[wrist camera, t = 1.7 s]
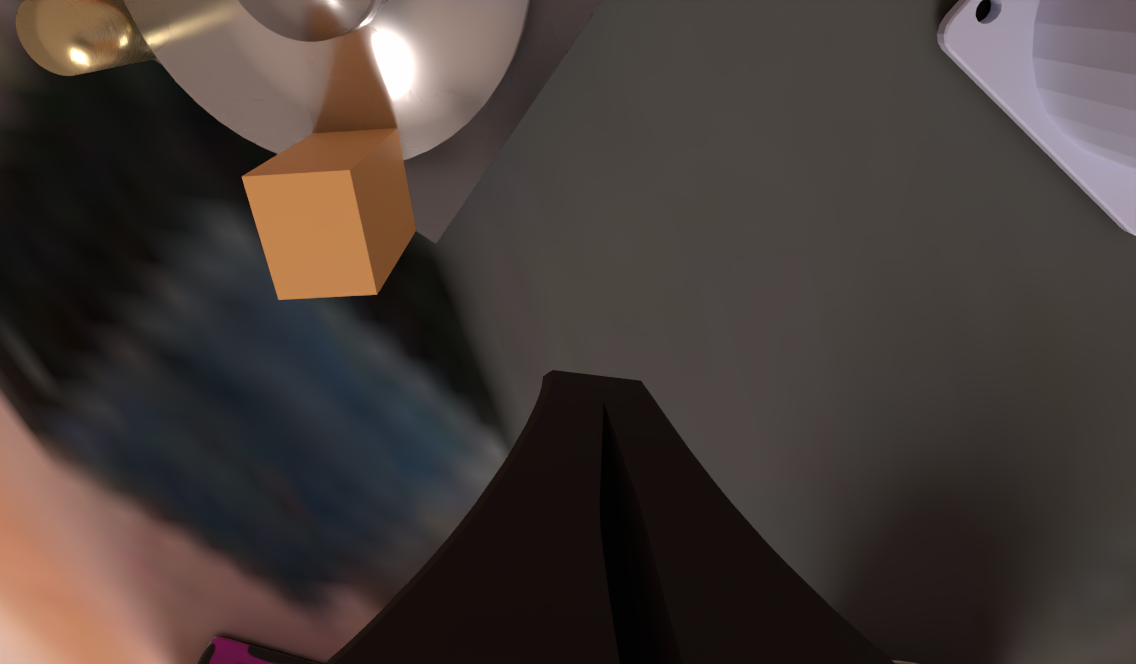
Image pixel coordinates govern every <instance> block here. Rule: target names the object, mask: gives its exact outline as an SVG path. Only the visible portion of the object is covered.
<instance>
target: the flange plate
mask: <svg viewBox="0 0 1136 664" xmlns="http://www.w3.org/2000/svg"><path fill="white" fill-rule="evenodd" d="M124 3H125V5H126V7H127V8H128V10H129V12H130V14H131V16H132V18H133V20H134V22H135V24H136V26H137V28H138V29H139V31H140V33H141V34H142V36H143V37H144V39H145V41H146V42H147V44H148V45H149V47H150V48H151V50H152V51H153V53H154V54H155V56H156V57H157V59H158V60H159V61H160V62H161V64H162V65H163V66H164V67H165V69H166V70H167V71H168V72H169V74H170V75H171V76H172V77H173V78H174V80H175V81H176V82H177V83H178V84H179V85H180V86H181V87H182V88H183V89H184V90H185V91H186V92H187V93H188V94H189V95H190V96H191V97H192V98H193V99H194V100H195V101H196V102H197V103H198V104H199V105H200V106H201V107H203V108H204V109H205V110H206V111H207V112H209V113H210V114H211V115H212V116H213V117H215V118H216V119H217V120H218V121H220V122H221V123H223V124H224V125H226V126H227V127H229V128H230V129H232V130H233V131H235V132H236V133H238V134H239V135H240V136H242V137H244V138H246V139H248V140H250V141H252V142H253V143H255V144H257V145H259V146H261V147H263V148H265V149H267V150H270V151H272V152H275V153H277V154H278V155H276V156H275V157H273V158H271V159H270V160H268V161H266V162H265V163H263V164H262V165H260V166H258V167H257V168H255V169H253V170H252V171H250V172H248V173H247V174H245V175H244V176H242V180H243V183H244V186H245V190H246V193H247V196H248V200H249V203H250V206H251V210H252V213H253V216H254V220H255V223H256V226H257V230H258V233H259V236H260V240H261V243H262V246H263V250H264V253H265V256H266V260H267V263H268V266H269V270H270V273H271V276H272V280H273V283H274V286H275V289H276V293H277V296H278V299H279V300H287V299H305V298H323V297H341V296H359V295H377V294H378V292H379V291H380V289H381V287H382V286H383V284H384V282H385V281H386V279H387V277H388V276H389V274H390V273H391V271H392V269H393V268H394V266H395V264H396V263H397V261H398V259H399V258H400V256H401V254H402V253H403V251H404V249H405V248H406V246H407V245H408V243H409V241H410V240H411V238H412V236H413V235H414V233H415V231H416V228H415V222H414V216H413V211H412V205H411V200H410V194H409V189H408V183H407V178H406V172H405V167H404V161H403V160H407V159H410V158H412V157H414V156H417V155H419V154H421V153H424V152H426V151H428V150H431V149H432V148H434V147H435V146H437V145H439V144H440V143H442V142H444V141H445V140H447V139H448V138H450V137H451V136H453V135H454V134H455V133H456V132H457V131H459V130H460V129H461V128H462V127H463V126H465V125H466V124H467V123H468V122H469V121H470V120H471V119H472V118H473V117H474V116H475V115H476V113H477V112H478V111H479V110H480V109H481V108H482V107H483V106H484V105H485V103H486V102H487V100H488V99H489V98H490V96H491V95H492V93H493V92H494V90H495V89H496V87H497V86H498V84H499V83H500V81H501V80H502V78H503V77H504V75H505V73H506V71H507V69H508V68H509V66H510V64H511V62H512V60H513V58H514V56H515V54H516V51H517V48H518V45H519V42H520V40H521V37H522V34H523V31H524V28H525V23H526V19H527V14H528V10H529V5H530V0H124Z"/></svg>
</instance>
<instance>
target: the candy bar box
mask: <svg viewBox="0 0 1136 664" xmlns="http://www.w3.org/2000/svg"><path fill="white" fill-rule="evenodd" d="M198 664H320V663H316V662H313V661H309V660H305V659H301V658H297V657H294V656H290V655H287V654H283V653H280V652H276V651H272V650H269V649H265V648H261V647H258V646H254V645H250V644H247V643H243V642H239V641H236V640H233V639H229V638H225V637H219V636H214V637H213V638H212V639H211V641H210V642H209V644H208V646H207V648H206V649H205V651H204V653H203V655H202V657H201V658H200V660H199V662H198Z"/></svg>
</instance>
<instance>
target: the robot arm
mask: <svg viewBox="0 0 1136 664" xmlns="http://www.w3.org/2000/svg"><path fill="white" fill-rule="evenodd" d="M981 1H982V0H959V1H958V2H957V3H956V4H955V5H954V6H953V7H952V8H951V10H950V11H949V12H948V13H947V14H946V15H945V17H944V18H943V20H942V21H941V23H940V25H939V28H938V32H937V39H938V44H939V45H940V47H941V49H942V50H943V51H944V52H945V53H946V54H947V55H948V56H949V57H950V58H951V59H952V60H953V61H954V62H955V63H956V64H957V65H958V66H959V67H960V68H961V69H962V70H963V71H964V72H965V73H966V74H967V75H968V76H969V77H970V78H971V79H972V80H973V81H974V82H975V83H976V84H977V85H978V86H979V87H980V88H981V89H982V90H983V91H984V92H985V93H986V94H987V95H988V96H989V97H990V98H991V99H992V100H993V101H994V102H995V103H996V104H997V105H998V106H999V107H1000V108H1001V109H1002V110H1003V111H1004V112H1005V113H1006V114H1007V115H1008V116H1009V117H1010V118H1011V119H1012V120H1013V121H1014V122H1015V123H1016V124H1017V125H1018V126H1019V127H1020V128H1021V129H1022V130H1023V131H1024V132H1025V133H1026V134H1027V135H1028V136H1029V137H1030V138H1031V139H1032V140H1033V141H1034V142H1035V143H1036V144H1037V145H1038V146H1039V147H1040V148H1041V149H1042V150H1043V151H1044V152H1045V153H1046V154H1047V155H1048V156H1049V157H1050V158H1051V159H1052V160H1053V161H1054V162H1055V163H1056V164H1057V165H1058V166H1059V167H1060V168H1061V169H1062V170H1063V171H1064V172H1065V173H1066V174H1067V175H1068V176H1069V177H1070V178H1071V179H1072V180H1073V181H1074V182H1075V183H1076V184H1077V185H1078V186H1079V187H1080V188H1081V189H1082V190H1083V191H1084V192H1085V193H1086V194H1087V195H1088V196H1089V197H1090V198H1091V199H1092V200H1093V201H1094V202H1095V203H1096V204H1097V205H1098V206H1099V207H1100V208H1101V209H1102V210H1103V211H1104V212H1105V213H1106V214H1107V215H1108V216H1109V217H1110V218H1111V219H1112V220H1113V221H1114V222H1115V223H1116V224H1117V225H1118V226H1119V227H1120V228H1121V229H1123V230H1125V231H1127V232H1129V233H1131V234H1133V235H1135V236H1136V0H990V2H991V10H990V12H989V14H988V15H987V17H986V18H985V19H983V20H982V21H980V22H978V20H977V18H976V16H975V15H976V8H977V7H978V5H979V3H980V2H981ZM325 664H896V663H894V662H893V661H892V660H891V659H890V658H889V657H887V656H886V655H885V654H884V653H883V652H881V651H880V650H879V649H878V648H877V647H876V646H874V645H873V644H872V643H871V642H870V641H868V640H867V639H866V638H865V637H864V636H863V635H862V634H860V633H859V632H858V631H857V630H856V629H855V628H854V627H853V626H852V625H851V624H849V623H848V622H847V621H846V620H845V619H844V618H843V617H842V616H841V615H839V614H838V613H837V612H836V611H835V610H834V609H833V608H832V607H831V606H830V605H829V604H828V603H827V602H826V601H825V600H824V599H823V598H822V597H821V596H820V595H819V594H817V593H816V592H815V591H814V590H813V589H812V588H811V587H810V586H809V585H808V584H807V583H806V582H805V581H804V580H803V579H802V578H801V577H800V576H799V575H798V574H797V573H796V572H795V571H794V570H793V569H792V568H791V567H790V566H789V565H788V564H787V563H786V562H785V561H784V560H783V559H782V558H781V557H780V556H779V555H778V554H777V553H776V552H775V551H774V550H773V549H772V548H771V547H770V545H769V544H768V543H767V542H766V541H765V540H764V539H763V538H762V537H761V536H760V535H759V533H758V532H757V531H756V530H755V529H754V528H753V527H752V525H751V524H750V523H749V522H748V521H747V520H746V519H745V518H744V516H743V515H742V514H741V513H740V512H739V511H738V510H737V508H736V507H735V506H734V505H733V504H732V503H731V502H730V500H729V499H728V498H727V497H726V496H725V494H724V493H723V492H722V491H721V489H720V488H719V487H718V486H717V484H716V483H715V482H714V481H713V479H712V478H711V477H710V475H709V474H708V473H707V472H706V470H705V469H704V468H703V466H702V465H701V464H700V463H699V461H698V460H697V459H696V457H695V456H694V455H693V453H692V452H691V451H690V449H689V448H688V447H687V445H686V444H685V442H684V441H683V440H682V438H681V437H680V435H679V434H678V433H677V431H676V430H675V428H674V427H673V426H672V424H671V423H670V421H669V420H668V419H667V417H666V416H665V414H664V413H663V411H662V410H661V408H660V407H659V406H658V404H657V403H656V401H655V400H654V398H653V397H652V395H651V394H650V393H649V391H648V390H647V389H646V387H645V386H644V384H643V383H642V382H641V381H638V380H630V379H622V378H614V377H605V376H597V375H589V374H580V373H572V372H564V371H555V370H552V371H551V372H549V373H548V374H546V375H545V376H543V381H542V388H541V391H540V394H539V397H538V400H537V402H536V405H535V407H534V409H533V411H532V413H531V415H530V417H529V419H528V422H527V424H526V425H525V427H524V429H523V431H522V432H521V434H520V436H519V438H518V439H517V441H516V443H515V445H514V446H513V448H512V450H511V452H510V453H509V455H508V457H507V458H506V460H505V461H504V463H503V465H502V466H501V468H500V469H499V470H498V472H497V473H496V475H495V476H494V478H493V479H492V480H491V482H490V483H489V485H488V486H487V488H486V489H485V490H484V492H483V493H482V495H481V496H480V498H479V499H478V500H477V502H476V503H475V505H474V506H473V507H472V509H471V510H470V511H469V512H468V514H467V515H466V516H465V518H464V519H463V520H462V521H461V523H460V524H459V525H458V526H457V528H456V529H455V530H454V531H453V533H452V534H451V535H450V536H449V538H448V539H447V540H446V541H445V542H444V543H443V545H442V546H441V547H440V548H439V549H438V550H437V551H436V553H435V554H434V555H433V556H432V557H431V558H430V560H429V561H428V562H427V563H426V564H425V565H424V566H423V567H422V569H421V570H420V571H419V572H418V573H417V574H416V575H415V576H414V577H413V578H412V579H411V580H410V581H409V582H408V583H407V584H406V585H405V586H404V588H403V589H402V590H401V591H400V592H399V593H398V594H397V595H396V596H395V597H394V598H393V599H392V600H391V601H390V602H389V603H388V604H387V605H386V607H385V608H384V609H383V610H382V611H381V612H380V613H379V614H378V615H377V616H375V617H374V618H373V619H372V620H371V621H370V622H369V623H368V624H367V625H366V626H365V627H364V628H363V629H362V630H361V631H360V632H359V633H358V634H357V635H356V636H355V637H354V638H353V639H352V640H351V641H350V642H348V643H347V644H346V645H345V646H344V647H343V648H342V649H341V650H340V651H338V652H337V653H336V654H335V655H334V656H333V657H332V658H331V659H329V660H328V661H327V662H326V663H325Z"/></svg>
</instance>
